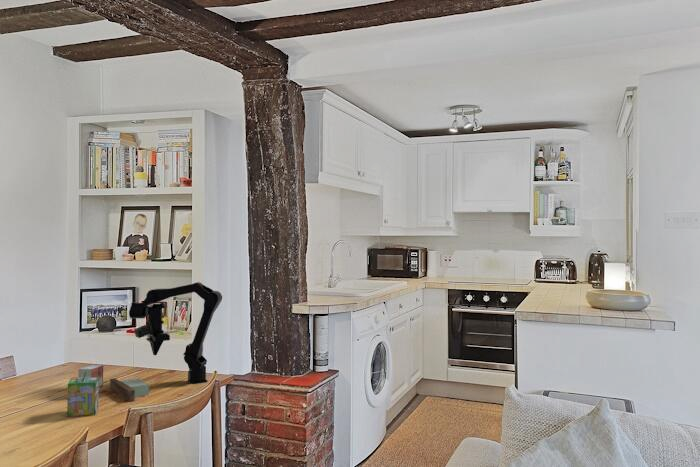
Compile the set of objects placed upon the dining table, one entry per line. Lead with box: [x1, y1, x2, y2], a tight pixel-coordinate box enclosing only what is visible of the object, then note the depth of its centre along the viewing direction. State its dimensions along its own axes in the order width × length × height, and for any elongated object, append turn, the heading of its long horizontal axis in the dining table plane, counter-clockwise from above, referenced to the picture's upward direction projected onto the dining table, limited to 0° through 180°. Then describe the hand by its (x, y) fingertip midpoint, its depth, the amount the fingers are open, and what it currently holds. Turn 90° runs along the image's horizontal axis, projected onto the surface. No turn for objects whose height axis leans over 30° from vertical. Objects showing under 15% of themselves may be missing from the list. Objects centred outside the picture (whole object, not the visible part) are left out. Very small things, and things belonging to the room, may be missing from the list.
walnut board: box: [109, 377, 136, 403], centre depth 229 cm, size 2×24×4 cm, turn 38°
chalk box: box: [66, 369, 100, 418], centre depth 205 cm, size 9×9×15 cm
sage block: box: [119, 378, 150, 398], centre depth 231 cm, size 7×12×4 cm, turn 39°
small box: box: [78, 364, 104, 394], centre depth 230 cm, size 8×6×10 cm
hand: (154, 355), depth 251 cm, fingers closed
